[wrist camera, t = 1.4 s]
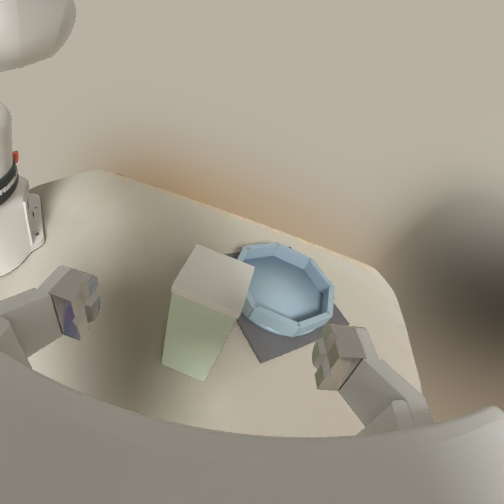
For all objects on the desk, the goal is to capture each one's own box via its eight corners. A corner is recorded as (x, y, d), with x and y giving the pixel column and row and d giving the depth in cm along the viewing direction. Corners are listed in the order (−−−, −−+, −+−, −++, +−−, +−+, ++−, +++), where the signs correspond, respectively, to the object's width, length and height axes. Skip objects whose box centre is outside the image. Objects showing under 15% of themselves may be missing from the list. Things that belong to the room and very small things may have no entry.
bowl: (212, 262, 45) (216, 247, 43) (290, 251, 55) (297, 239, 53) (262, 351, 35) (270, 340, 33) (341, 319, 45) (351, 308, 43)
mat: (203, 258, 46) (204, 256, 45) (289, 248, 56) (290, 246, 56) (260, 363, 34) (261, 362, 34) (348, 325, 45) (349, 324, 45)
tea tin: (160, 364, 30) (171, 285, 20) (176, 329, 34) (197, 243, 25) (204, 382, 30) (240, 313, 21) (217, 346, 34) (255, 266, 25)
